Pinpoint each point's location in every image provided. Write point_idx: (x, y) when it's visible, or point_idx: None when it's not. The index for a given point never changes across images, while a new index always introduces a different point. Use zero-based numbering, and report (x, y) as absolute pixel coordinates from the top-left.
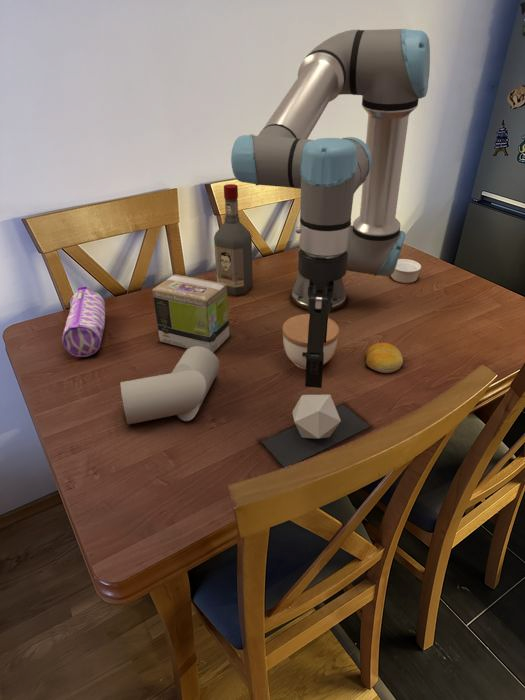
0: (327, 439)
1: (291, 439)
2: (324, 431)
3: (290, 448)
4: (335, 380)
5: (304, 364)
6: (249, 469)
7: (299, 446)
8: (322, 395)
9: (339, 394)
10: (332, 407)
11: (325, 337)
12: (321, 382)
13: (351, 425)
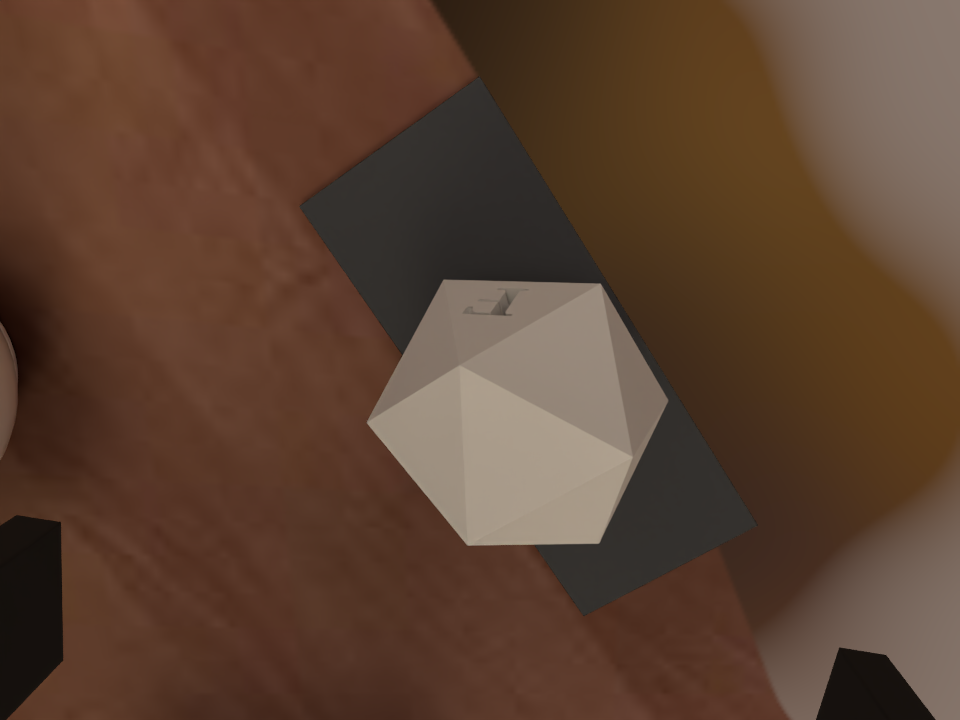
0: None
1: None
2: (650, 376)
3: (634, 497)
4: (88, 224)
5: (12, 416)
6: (743, 659)
7: None
8: (469, 418)
9: (211, 215)
10: (546, 346)
11: (9, 572)
12: (924, 711)
13: (471, 181)
